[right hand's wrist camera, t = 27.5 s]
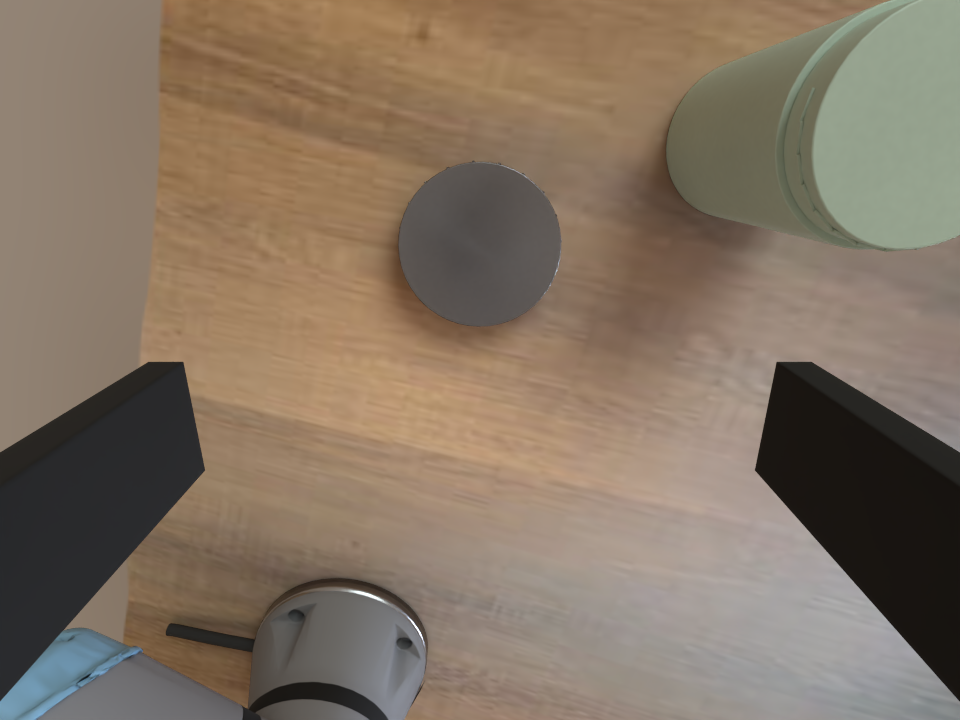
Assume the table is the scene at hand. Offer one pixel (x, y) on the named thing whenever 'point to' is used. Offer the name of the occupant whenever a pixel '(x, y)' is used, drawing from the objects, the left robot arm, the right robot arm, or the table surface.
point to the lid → (479, 244)
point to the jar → (833, 132)
